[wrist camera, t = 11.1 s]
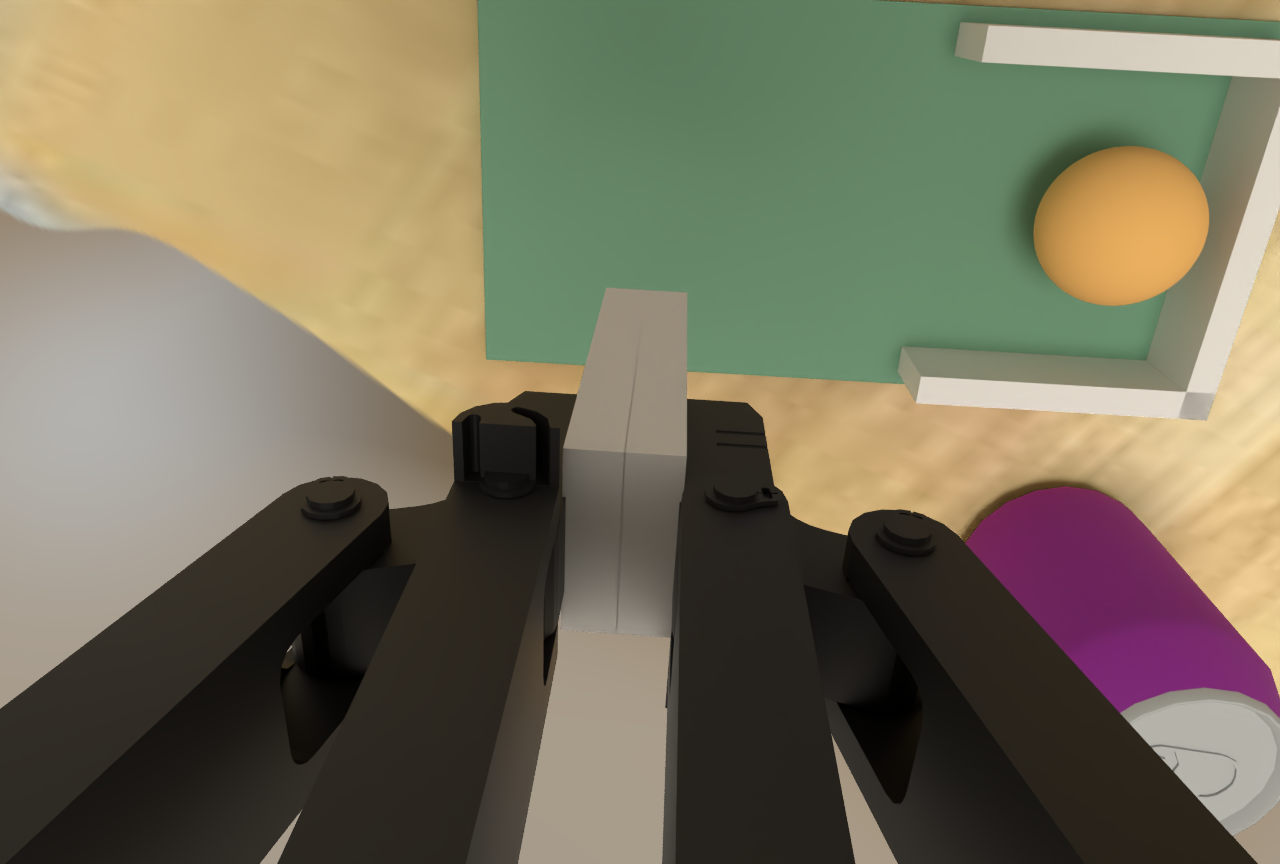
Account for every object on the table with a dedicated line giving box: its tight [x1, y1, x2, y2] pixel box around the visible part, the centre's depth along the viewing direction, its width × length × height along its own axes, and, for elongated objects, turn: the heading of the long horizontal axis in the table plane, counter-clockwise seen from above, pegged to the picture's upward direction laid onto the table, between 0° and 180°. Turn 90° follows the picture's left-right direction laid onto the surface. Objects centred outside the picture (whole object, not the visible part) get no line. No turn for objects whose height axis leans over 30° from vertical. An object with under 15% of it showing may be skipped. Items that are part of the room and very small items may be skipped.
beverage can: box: [965, 486, 1280, 836], centre depth 33 cm, size 8×8×12 cm
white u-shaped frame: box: [898, 22, 1280, 420], centre depth 31 cm, size 10×12×3 cm
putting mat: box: [478, 0, 1280, 384], centre depth 32 cm, size 26×13×1 cm, turn 87°
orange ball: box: [1033, 146, 1209, 306], centre depth 30 cm, size 5×5×5 cm
